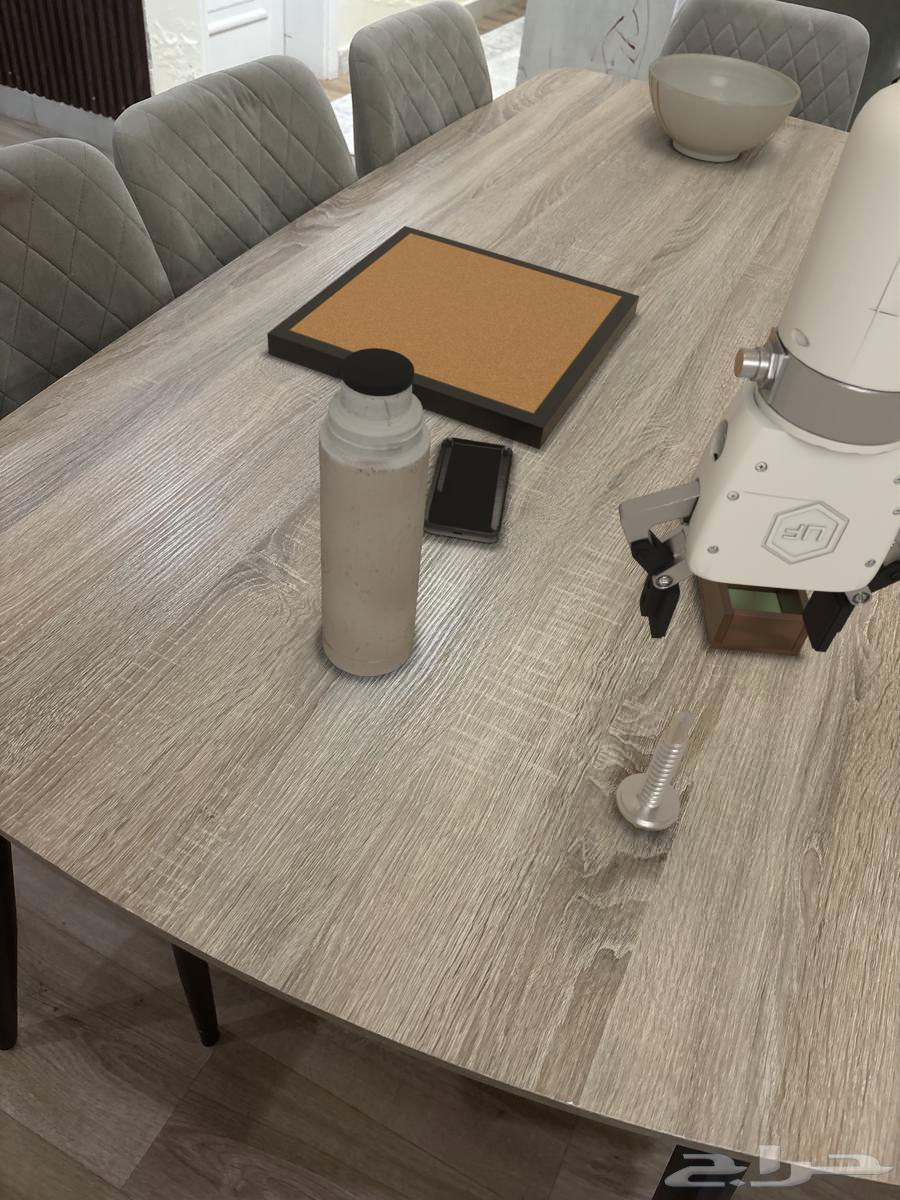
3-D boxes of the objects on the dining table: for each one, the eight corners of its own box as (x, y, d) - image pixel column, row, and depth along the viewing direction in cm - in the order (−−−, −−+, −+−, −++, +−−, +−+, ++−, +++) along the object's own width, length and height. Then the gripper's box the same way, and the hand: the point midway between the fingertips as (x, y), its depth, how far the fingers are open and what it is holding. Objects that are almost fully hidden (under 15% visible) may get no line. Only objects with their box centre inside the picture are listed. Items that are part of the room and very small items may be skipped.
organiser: (766, 543, 97) (781, 509, 93) (797, 656, 86) (815, 622, 83) (689, 535, 96) (701, 501, 93) (710, 647, 86) (725, 613, 82)
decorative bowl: (604, 138, 173) (618, 66, 165) (691, 112, 187) (708, 45, 179) (722, 190, 161) (744, 115, 152) (806, 159, 175) (830, 89, 166)
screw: (681, 806, 74) (660, 853, 70) (624, 778, 75) (601, 823, 72) (731, 704, 64) (709, 753, 61) (665, 674, 66) (640, 721, 63)
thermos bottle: (319, 611, 85) (312, 333, 65) (406, 606, 86) (427, 331, 66) (326, 680, 79) (321, 399, 59) (419, 673, 81) (446, 396, 61)
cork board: (403, 244, 136) (268, 354, 113) (404, 225, 134) (267, 332, 111) (634, 315, 128) (539, 449, 105) (639, 295, 126) (543, 428, 103)
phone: (513, 446, 102) (499, 536, 92) (512, 455, 103) (497, 545, 93) (442, 435, 103) (420, 523, 92) (441, 444, 104) (419, 532, 93)
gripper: (672, 411, 41) (595, 664, 53) (1056, 446, 42) (893, 688, 54) (652, 323, 46) (586, 572, 58) (993, 356, 47) (857, 595, 59)
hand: (733, 627), depth 56 cm, fingers open, 9 cm apart
